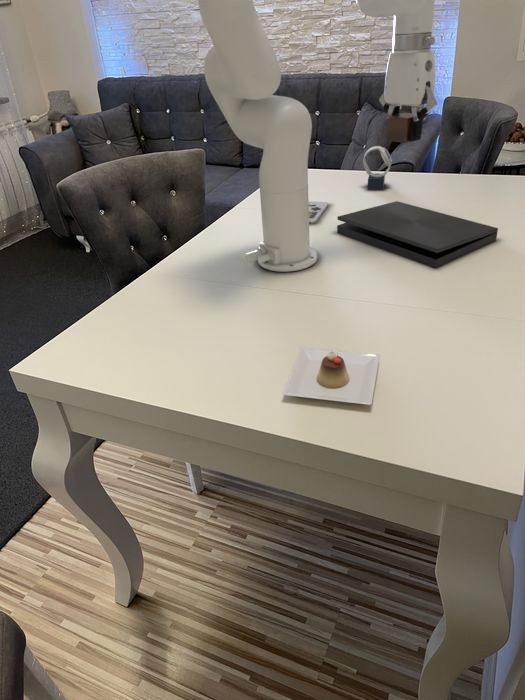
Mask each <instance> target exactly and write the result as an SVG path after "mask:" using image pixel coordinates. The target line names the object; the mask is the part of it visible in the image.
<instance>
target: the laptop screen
mask: <svg viewBox="0 0 525 700" xmlns="http://www.w3.org/2000/svg"><path fill="white" fill-rule="evenodd" d="M336 219H337V221H339V222H342V223H349V224H352V225H355V226H358V227H361V228H364V229H367V230H370V231H373V232H376V233H379V234H382V235H385V236H388V237H391V238H394V239H397V240H400V241H403V242H406V243H409V244H412V245H415V246H418V247H421V248H424V249H427V250H430V251H433V252H435V253H439V252H441V251H444V250H447V249H450V248H453V247H456V246H458V245H461V244H464V243H467V242H470V241H473V240H475V239H478V238H481V237H484V236H487V235H490V234H493V233H495V232H497V233H498V231H499V227H496V226H491V225H488V224H484V223H480V222H476V221H473V220H469V219H465V218H461V217H458V216H454V215H450V214H447V213H444V212H439V211H436V210H432V209H428V208H424V207H422V206H421V207H420V206H417V205H413V204H409V203H406V202H403V201H402V202H401V201H398V200H396V201H392V202H388V203H383V204H381V205H376V206H372V207H368V208H365V209H361V210H359V211H358V210H357V211H354V212H350V213H349V212H348V213H346V214H342V215H338V216H337V218H336Z"/></svg>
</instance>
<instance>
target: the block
mask: <svg viewBox="0 0 525 700" xmlns="http://www.w3.org/2000/svg"><path fill="white" fill-rule="evenodd" d="M411 121H413V117H412V112H400V114H396V115H392V116H389V119H388V131H387V132H388V134H387V141H389V142H395V143H402V144H408V143H411V142H413V141H409V132H410V123H411ZM421 138H422V137H421ZM421 138H420V140H421Z"/></svg>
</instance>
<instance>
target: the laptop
mask: <svg viewBox="0 0 525 700" xmlns="http://www.w3.org/2000/svg"><path fill="white" fill-rule="evenodd" d="M336 234H339V235H342V236H345V237H348V238H351V239H354V240H356V241H359V242H362V243H365V244H367V245H370V246H373V247H375V248H378V249H381V250H384V251H386V252H389V253H392V254H395V255H398V256H400V257H403V258H406V259H408V260H411V261H415V262H418V263H419V264H423V265H425V266H428V267H431V268H434V269H437V268H438V267H441V266H443V265H445V264H447V263H450V262H451V261H454V260H456V259H459V258H460V257H462V256H465V255H467V254H469V253H471V252H473V251H476V250H479V249H481V248H483V247H485V246H487V245H489V244H491V243H493V242H496V241H497V238H498V232H495V233H493V234H490V235H487V236H484V237H481V238H478V239H475V240H473V241H470V242H467V243H464V244H461V245H458V246H456V247H453V248H450V249H447V250H444V251H441V252H439V253H435V252H433V251H430V250H427V249H424V248H421V247H418V246H415V245H412V244H409V243H406V242H403V241H400V240H397V239H394V238H391V237H388V236H385V235H382V234H379V233H376V232H373V231H370V230H367V229H364V228H361V227H358V226H355V225H352V224H349V223H346V222H342V223H340V224H337V226H336Z"/></svg>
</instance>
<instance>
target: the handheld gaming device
mask: <svg viewBox="0 0 525 700" xmlns="http://www.w3.org/2000/svg"><path fill="white" fill-rule="evenodd" d="M308 202H309V225H310V224H311V225H312V224H313V225H314V224H316V223H317V222H318V221H319V219H320V218H321V217H322V215H323V214H324V212H325V211H326V209H327V208H328V207H329V202H328V201H309V200H308Z"/></svg>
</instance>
